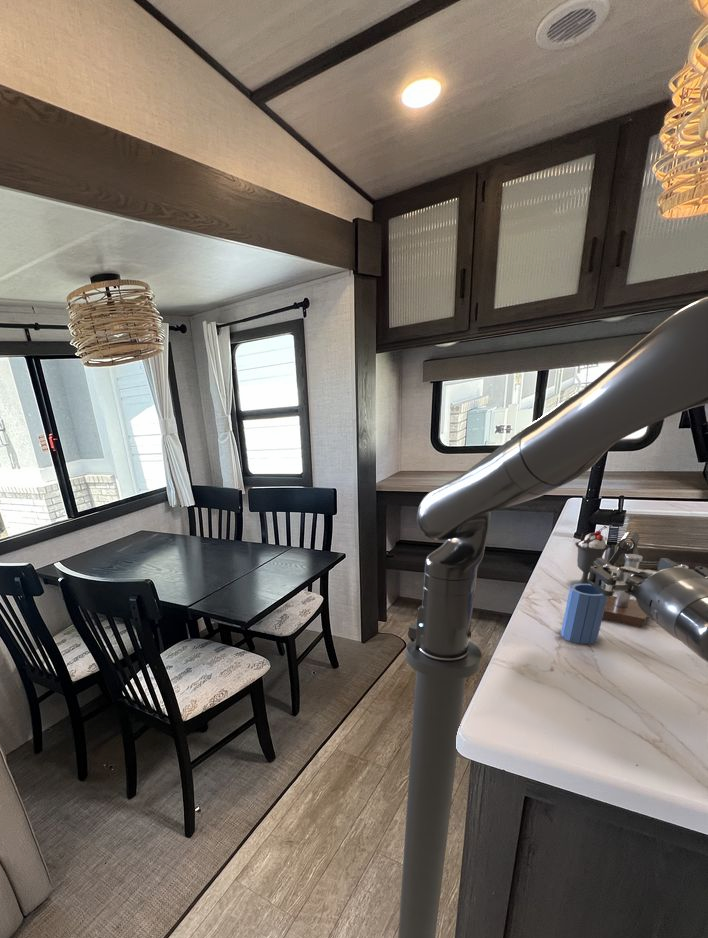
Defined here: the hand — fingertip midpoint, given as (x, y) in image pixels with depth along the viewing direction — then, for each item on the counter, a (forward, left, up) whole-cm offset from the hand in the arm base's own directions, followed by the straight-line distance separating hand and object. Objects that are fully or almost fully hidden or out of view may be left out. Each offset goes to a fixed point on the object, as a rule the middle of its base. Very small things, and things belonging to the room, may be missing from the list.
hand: (628, 563), depth 73 cm
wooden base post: (-2, +25, -19) cm, 31 cm away
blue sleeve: (-6, +10, -19) cm, 22 cm away
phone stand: (-5, +43, -19) cm, 47 cm away
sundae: (-11, +38, -19) cm, 44 cm away
